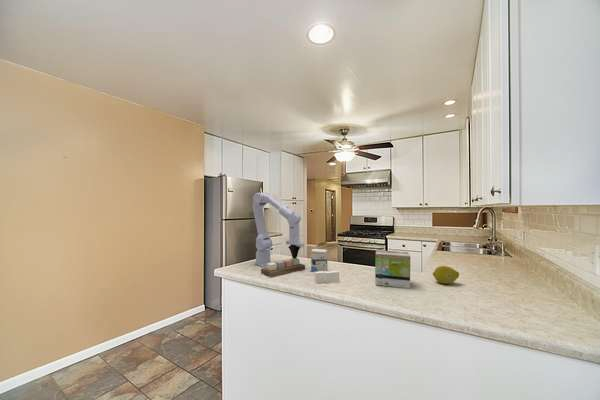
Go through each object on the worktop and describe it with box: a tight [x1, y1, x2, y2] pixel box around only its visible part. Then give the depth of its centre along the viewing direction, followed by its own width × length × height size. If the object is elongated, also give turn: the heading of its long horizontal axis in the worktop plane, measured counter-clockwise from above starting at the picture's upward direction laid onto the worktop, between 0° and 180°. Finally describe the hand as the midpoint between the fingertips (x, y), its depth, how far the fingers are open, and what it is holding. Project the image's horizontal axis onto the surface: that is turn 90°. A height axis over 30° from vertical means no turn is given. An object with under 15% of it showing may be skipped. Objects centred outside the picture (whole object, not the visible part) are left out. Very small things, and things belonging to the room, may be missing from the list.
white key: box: [265, 261, 277, 271], centre depth 135 cm, size 4×4×3 cm
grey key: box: [274, 260, 285, 269], centre depth 138 cm, size 4×4×3 cm
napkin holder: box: [313, 270, 340, 284], centre depth 121 cm, size 15×11×6 cm
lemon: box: [432, 265, 460, 285], centre depth 117 cm, size 11×8×8 cm
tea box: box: [374, 249, 411, 289], centre depth 117 cm, size 15×10×15 cm, turn 73°
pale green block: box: [289, 257, 301, 265], centre depth 144 cm, size 4×4×3 cm
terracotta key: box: [281, 258, 292, 267], centre depth 141 cm, size 4×4×3 cm
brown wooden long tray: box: [260, 263, 306, 278], centre depth 140 cm, size 10×23×2 cm, turn 129°
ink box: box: [310, 248, 328, 273], centre depth 139 cm, size 8×5×12 cm, turn 73°
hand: (294, 258), depth 144 cm, fingers closed
